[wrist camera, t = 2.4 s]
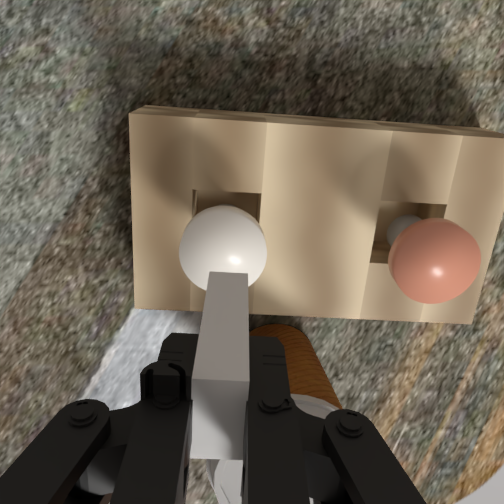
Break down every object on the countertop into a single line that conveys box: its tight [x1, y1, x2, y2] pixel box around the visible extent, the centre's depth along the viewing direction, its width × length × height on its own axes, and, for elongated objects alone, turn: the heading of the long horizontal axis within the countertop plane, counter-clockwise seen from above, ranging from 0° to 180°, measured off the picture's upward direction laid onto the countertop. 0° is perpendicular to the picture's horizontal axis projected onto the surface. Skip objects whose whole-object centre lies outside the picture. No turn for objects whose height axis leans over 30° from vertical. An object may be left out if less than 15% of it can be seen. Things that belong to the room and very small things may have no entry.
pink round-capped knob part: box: [387, 214, 481, 304], centre depth 26 cm, size 4×4×5 cm
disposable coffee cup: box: [206, 324, 342, 504], centre depth 32 cm, size 10×10×12 cm
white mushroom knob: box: [179, 204, 267, 290], centre depth 26 cm, size 4×4×5 cm
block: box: [129, 105, 504, 324], centre depth 30 cm, size 22×12×5 cm, turn 86°
